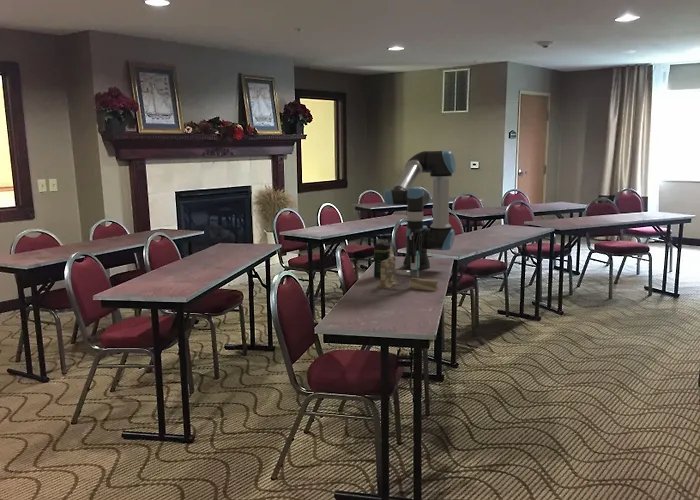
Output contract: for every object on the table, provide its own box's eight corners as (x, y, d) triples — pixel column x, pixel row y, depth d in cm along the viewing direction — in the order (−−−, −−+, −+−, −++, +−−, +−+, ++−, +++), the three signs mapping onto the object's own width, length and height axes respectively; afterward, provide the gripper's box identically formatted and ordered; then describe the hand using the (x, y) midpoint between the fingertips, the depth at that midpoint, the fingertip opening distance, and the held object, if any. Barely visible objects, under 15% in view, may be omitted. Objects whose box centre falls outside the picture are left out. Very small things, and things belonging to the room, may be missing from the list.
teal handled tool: (385, 274, 289) (385, 248, 287) (419, 277, 281) (419, 250, 279) (383, 276, 286) (383, 249, 284) (416, 279, 278) (417, 252, 276)
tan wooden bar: (412, 286, 283) (412, 277, 283) (437, 289, 278) (437, 280, 277) (409, 288, 281) (410, 279, 280) (435, 290, 275) (435, 281, 274)
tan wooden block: (388, 281, 295) (388, 256, 293) (399, 282, 292) (399, 257, 290) (376, 287, 283) (376, 261, 280) (388, 288, 280) (388, 262, 278)
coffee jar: (386, 279, 300) (386, 243, 297) (372, 278, 303) (372, 243, 300) (392, 275, 309) (392, 240, 306) (378, 274, 312) (378, 240, 308)
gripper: (413, 217, 284) (413, 264, 288) (401, 222, 270) (401, 271, 274) (428, 218, 281) (428, 266, 285) (416, 222, 267) (416, 272, 271)
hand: (415, 268), depth 280 cm, fingers closed on teal handled tool, 3 cm apart
